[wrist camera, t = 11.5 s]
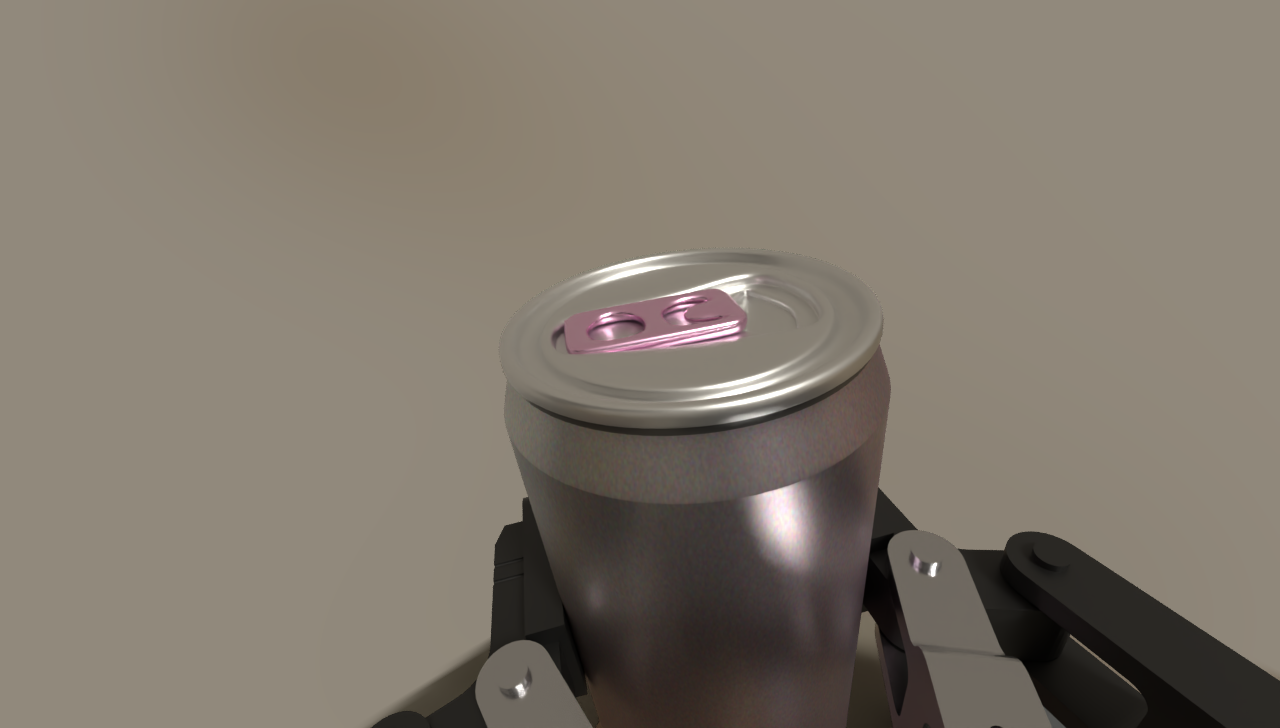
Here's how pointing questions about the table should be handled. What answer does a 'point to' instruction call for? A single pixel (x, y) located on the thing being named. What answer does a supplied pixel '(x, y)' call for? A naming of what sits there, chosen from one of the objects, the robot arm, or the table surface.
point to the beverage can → (705, 479)
